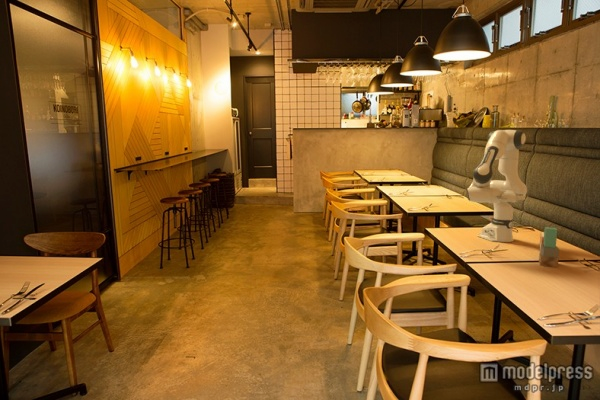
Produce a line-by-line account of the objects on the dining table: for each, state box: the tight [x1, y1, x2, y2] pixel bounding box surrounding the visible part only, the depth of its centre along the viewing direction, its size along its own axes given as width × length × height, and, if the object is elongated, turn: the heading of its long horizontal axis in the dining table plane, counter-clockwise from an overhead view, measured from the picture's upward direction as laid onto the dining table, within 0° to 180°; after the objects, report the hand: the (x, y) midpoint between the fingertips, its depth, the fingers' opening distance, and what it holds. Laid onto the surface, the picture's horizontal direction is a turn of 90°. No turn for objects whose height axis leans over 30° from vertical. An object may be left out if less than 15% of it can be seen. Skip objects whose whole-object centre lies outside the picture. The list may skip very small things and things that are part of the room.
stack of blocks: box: [539, 231, 544, 251], centre depth 245 cm, size 21×6×12 cm, turn 152°
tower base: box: [538, 252, 559, 268], centre depth 225 cm, size 8×8×5 cm
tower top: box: [539, 244, 560, 259], centre depth 225 cm, size 7×7×5 cm
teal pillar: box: [543, 226, 558, 248], centre depth 223 cm, size 5×5×10 cm
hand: (524, 196), depth 235 cm, fingers open, 8 cm apart
